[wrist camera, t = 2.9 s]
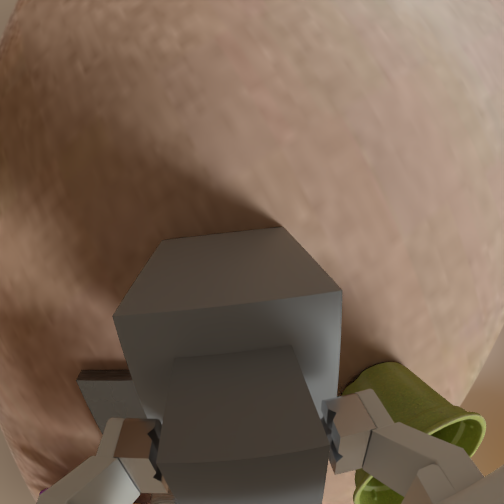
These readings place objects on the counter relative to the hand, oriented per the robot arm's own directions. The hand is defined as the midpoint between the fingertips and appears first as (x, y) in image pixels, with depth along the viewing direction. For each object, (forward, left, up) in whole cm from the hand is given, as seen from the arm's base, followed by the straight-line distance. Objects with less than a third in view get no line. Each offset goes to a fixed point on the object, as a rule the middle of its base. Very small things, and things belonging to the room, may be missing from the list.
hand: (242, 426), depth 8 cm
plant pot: (+10, +10, -11) cm, 18 cm away
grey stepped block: (0, 0, -10) cm, 10 cm away
